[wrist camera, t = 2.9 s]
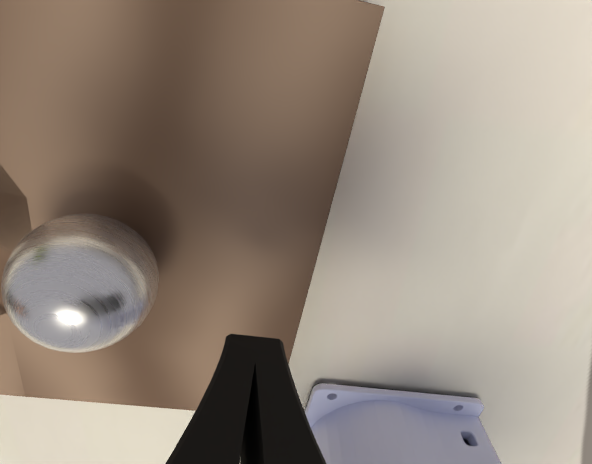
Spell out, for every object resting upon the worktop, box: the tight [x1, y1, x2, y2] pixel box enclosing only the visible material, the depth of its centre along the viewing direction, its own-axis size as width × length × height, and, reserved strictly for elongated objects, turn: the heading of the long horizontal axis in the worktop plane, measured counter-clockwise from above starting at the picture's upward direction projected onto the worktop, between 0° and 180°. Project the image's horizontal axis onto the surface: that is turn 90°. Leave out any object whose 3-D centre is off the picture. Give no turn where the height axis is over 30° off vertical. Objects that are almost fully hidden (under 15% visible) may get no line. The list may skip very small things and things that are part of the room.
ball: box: [1, 214, 159, 353], centre depth 11 cm, size 4×4×4 cm
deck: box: [0, 0, 385, 411], centre depth 14 cm, size 20×17×2 cm
